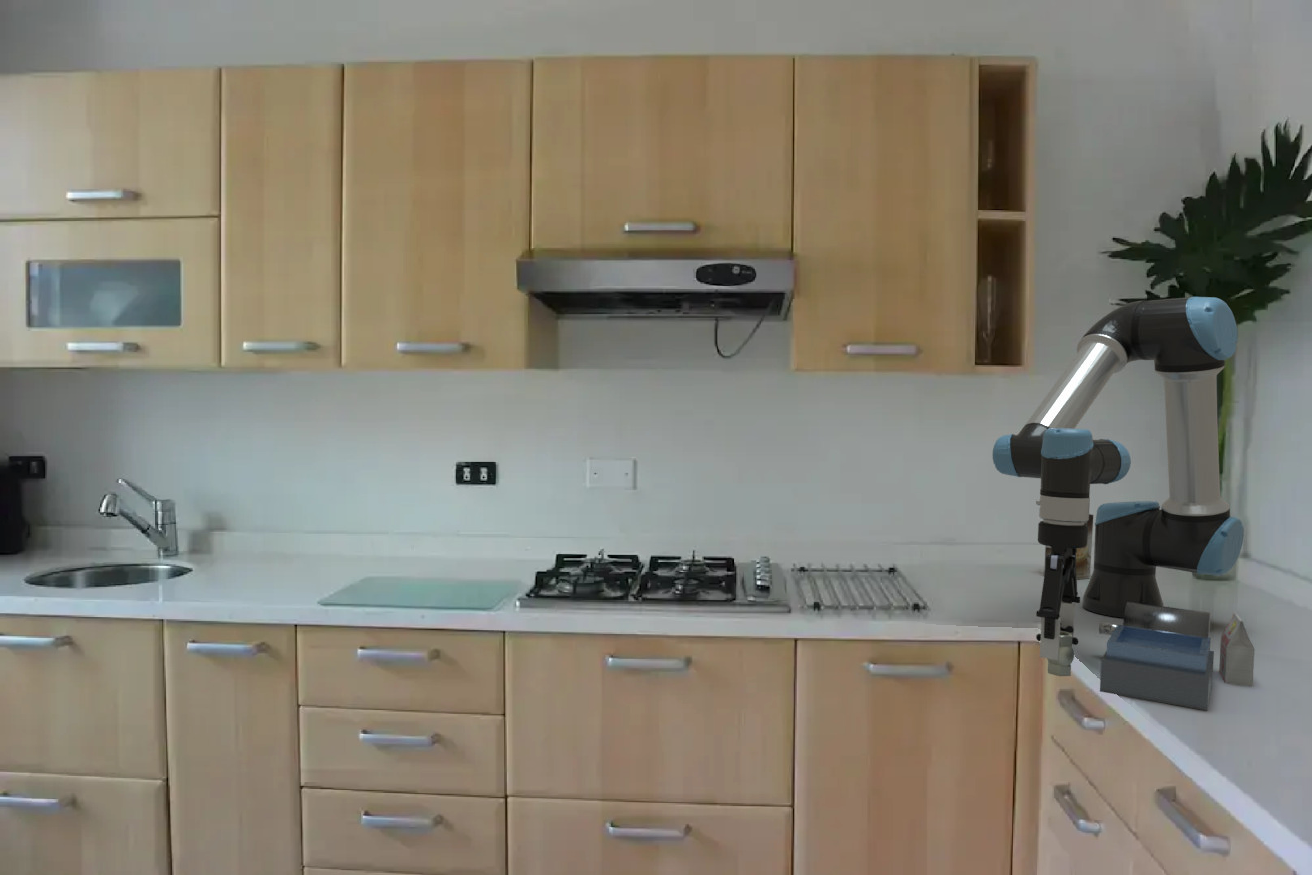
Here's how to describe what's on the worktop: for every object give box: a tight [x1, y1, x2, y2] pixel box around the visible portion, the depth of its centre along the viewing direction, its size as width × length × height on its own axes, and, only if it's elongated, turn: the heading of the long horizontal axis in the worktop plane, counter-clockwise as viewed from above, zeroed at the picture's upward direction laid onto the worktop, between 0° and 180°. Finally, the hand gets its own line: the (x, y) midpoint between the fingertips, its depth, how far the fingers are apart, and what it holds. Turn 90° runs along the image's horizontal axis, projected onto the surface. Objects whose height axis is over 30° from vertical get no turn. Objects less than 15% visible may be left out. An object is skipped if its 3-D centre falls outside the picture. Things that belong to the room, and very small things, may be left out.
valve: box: [1035, 621, 1079, 677], centre depth 152 cm, size 7×7×12 cm
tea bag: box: [1218, 612, 1256, 687], centre depth 148 cm, size 4×7×10 cm, turn 155°
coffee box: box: [1043, 513, 1094, 580], centre depth 229 cm, size 9×6×16 cm
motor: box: [1098, 602, 1215, 711], centre depth 147 cm, size 26×17×10 cm, turn 147°
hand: (1057, 649), depth 153 cm, fingers open, 13 cm apart
